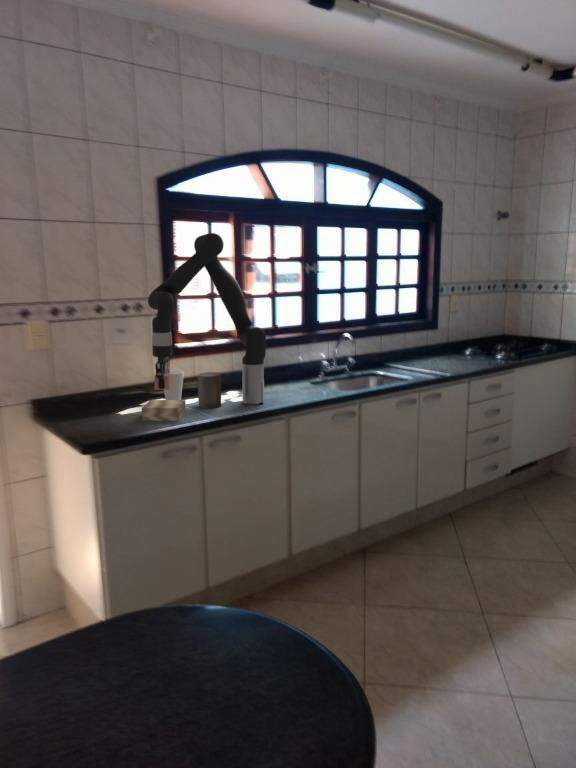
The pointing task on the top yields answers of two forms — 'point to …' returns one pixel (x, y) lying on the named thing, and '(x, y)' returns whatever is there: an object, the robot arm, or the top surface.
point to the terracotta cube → (166, 380)
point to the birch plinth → (163, 410)
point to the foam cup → (175, 386)
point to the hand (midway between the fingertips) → (163, 386)
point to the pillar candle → (209, 389)
